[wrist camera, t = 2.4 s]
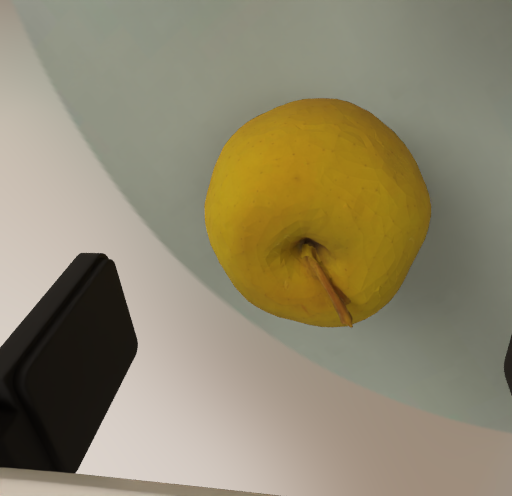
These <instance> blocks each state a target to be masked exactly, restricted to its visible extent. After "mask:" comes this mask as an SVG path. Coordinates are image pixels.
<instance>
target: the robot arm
mask: <svg viewBox="0 0 512 496" xmlns="http://www.w3.org/2000/svg"><path fill="white" fill-rule="evenodd" d="M137 348H138V342H137V337H136V334H135V331H134V327H133V324H132V320H131V317H130V314H129V310H128V307H127V303H126V300H125V297H124V293H123V290H122V286H121V283H120V279H119V276H118V273H117V270H116V266H115V263H114V262H113V260H111V259H108V257H107V256H106V255H105V254H103V253H80V254H79V255H78V256H77V257H76V258H75V259H74V260H73V262H72V263H71V264H70V265H69V266H68V268H67V269H66V270H65V271H64V272H63V273H62V275H61V276H60V277H59V278H58V279H57V281H56V282H55V283H54V284H53V285H52V287H51V288H50V289H49V290H48V291H47V293H46V294H45V295H44V296H43V297H42V298H41V300H40V301H39V302H38V303H37V304H36V306H35V307H34V308H33V309H32V311H31V312H30V313H29V314H28V315H27V316H26V318H25V319H24V320H23V321H22V322H21V324H20V325H19V326H18V327H17V328H16V329H15V331H14V332H13V333H12V334H11V335H10V337H9V338H8V339H7V340H6V341H5V343H4V344H3V345H2V346H1V347H0V496H278V495H270V494H261V493H252V492H243V491H234V490H225V489H215V488H206V487H197V486H188V485H179V484H169V483H160V482H150V481H141V480H131V479H121V478H112V477H102V476H93V475H84V474H75V473H76V471H77V470H78V468H79V466H80V464H81V462H82V460H83V458H84V456H85V454H86V452H87V450H88V448H89V446H90V445H91V443H92V440H93V439H94V436H95V435H96V433H97V430H98V429H99V427H100V425H101V423H102V421H103V419H104V417H105V415H106V413H107V411H108V409H109V407H110V405H111V402H112V401H113V399H114V397H115V395H116V393H117V391H118V389H119V387H120V385H121V383H122V381H123V379H124V377H125V375H126V373H127V371H128V369H129V367H130V365H131V363H132V361H133V359H134V357H135V355H136V352H137ZM504 372H505V377H506V380H507V383H508V386H509V389H510V392H511V395H512V335H511V339H510V343H509V346H508V350H507V354H506V357H505V362H504Z"/></svg>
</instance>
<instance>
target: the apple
mask: <svg viewBox="0 0 512 496" xmlns="http://www.w3.org/2000/svg"><path fill="white" fill-rule="evenodd" d="M430 218H431V203H430V197H429V193H428V190H427V187H426V184H425V182H424V180H423V177H422V175H421V173H420V170H419V168H418V165H417V163H416V161H415V160H414V158H413V156H412V154H411V153H410V151H409V150H408V148H407V147H406V146H405V144H404V143H403V142H402V141H401V140H400V139H399V137H398V136H397V135H396V134H395V133H394V132H393V131H392V130H391V129H390V128H388V127H387V126H386V125H385V124H384V123H383V122H381V121H380V120H379V119H378V118H377V117H375V116H374V115H373V114H372V113H370V112H368V111H366V110H364V109H362V108H360V107H358V106H356V105H354V104H352V103H350V102H347V101H343V100H339V99H325V98H318V99H302V100H298V101H293V102H290V103H287V104H285V105H282V106H279V107H276V108H274V109H272V110H270V111H268V112H266V113H264V114H261V115H259V116H257V117H256V118H254V119H252V120H250V121H248V122H247V123H246V124H244V125H243V126H242V127H241V128H239V129H238V131H237V132H236V133H235V134H234V135H232V137H231V138H230V139H229V140H228V142H227V143H226V144H225V146H224V147H223V149H222V152H221V154H220V156H219V158H218V160H217V162H216V165H215V167H214V170H213V174H212V178H211V181H210V185H209V188H208V192H207V196H206V201H205V224H206V229H207V233H208V236H209V240H210V244H211V246H212V248H213V250H214V252H215V254H216V256H217V258H218V260H219V263H220V264H221V265H222V267H223V269H224V270H225V272H226V274H227V275H228V277H229V279H230V280H231V282H232V283H233V285H234V286H235V287H236V289H237V290H238V291H239V292H240V293H241V294H242V295H243V296H244V297H245V298H246V299H247V300H248V301H249V302H250V303H252V304H253V305H255V306H256V307H258V308H260V309H262V310H264V311H265V312H268V313H270V314H273V315H275V316H277V317H280V318H285V319H290V320H294V321H297V322H301V323H305V324H309V325H314V326H320V327H342V326H350V327H353V326H352V324H354V323H357V322H360V321H362V320H365V319H366V318H368V317H370V316H372V315H373V314H375V313H376V312H378V311H379V310H380V309H381V308H382V307H384V306H385V305H386V304H387V303H388V302H389V301H390V300H391V299H392V298H393V296H394V295H395V294H396V293H397V291H398V290H399V288H400V286H401V285H402V283H403V281H404V279H405V277H406V275H407V273H408V271H409V269H410V267H411V265H412V263H413V261H414V259H415V257H416V255H417V254H418V251H419V249H420V247H421V246H422V244H423V242H424V240H425V237H426V234H427V231H428V227H429V222H430Z"/></svg>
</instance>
